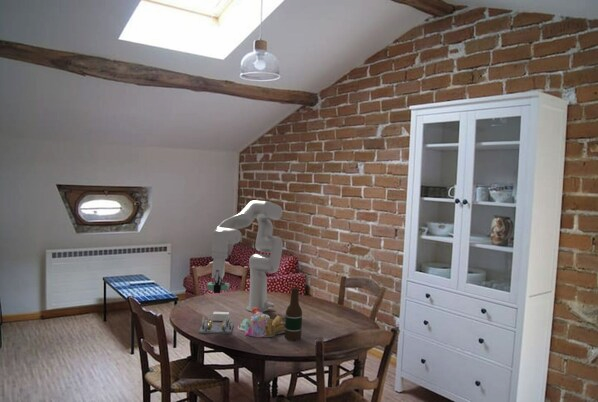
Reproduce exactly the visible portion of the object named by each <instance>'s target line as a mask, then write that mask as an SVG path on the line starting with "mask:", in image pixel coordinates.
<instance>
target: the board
mask: <svg viewBox="0 0 598 402" xmlns="http://www.w3.org/2000/svg"><path fill="white" fill-rule="evenodd" d="M220 285H221V290H220V291H229V289H230V282H223V281H222V282H220ZM206 290H208V291H214V281H209V282H208V283H207V284H206Z"/></svg>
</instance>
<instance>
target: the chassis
mask: <svg viewBox="0 0 598 402" xmlns="http://www.w3.org/2000/svg"><path fill="white" fill-rule="evenodd" d="M205 317H206V316H202V318H201V319H202V320H201V321H202V323H201V327H200V328H199V330H198V334H215V335H216V334H219V335H231V334H232V331H233V328H234V323H232V317H230V316H229V320H228V314H227V315H226V320H224V321H222V323H217V322H216V323H215V322H213V320H211V313H207V319H205Z"/></svg>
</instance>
